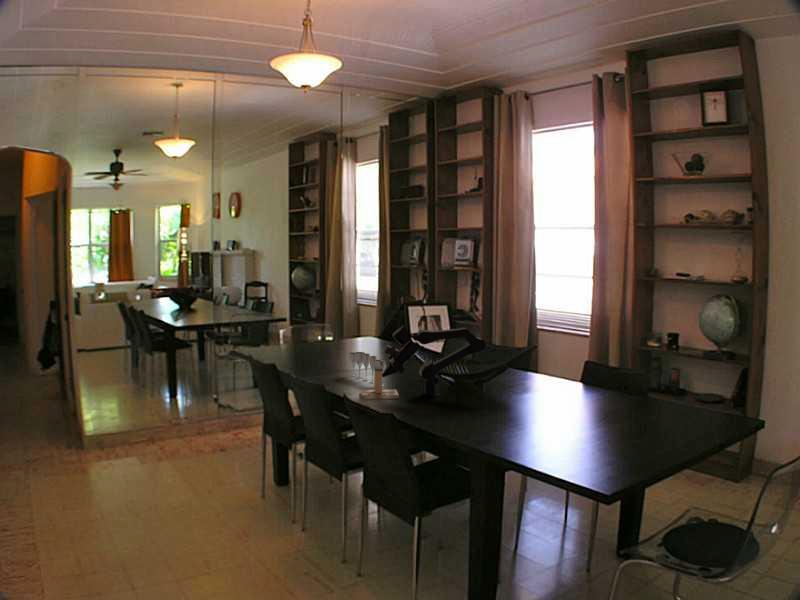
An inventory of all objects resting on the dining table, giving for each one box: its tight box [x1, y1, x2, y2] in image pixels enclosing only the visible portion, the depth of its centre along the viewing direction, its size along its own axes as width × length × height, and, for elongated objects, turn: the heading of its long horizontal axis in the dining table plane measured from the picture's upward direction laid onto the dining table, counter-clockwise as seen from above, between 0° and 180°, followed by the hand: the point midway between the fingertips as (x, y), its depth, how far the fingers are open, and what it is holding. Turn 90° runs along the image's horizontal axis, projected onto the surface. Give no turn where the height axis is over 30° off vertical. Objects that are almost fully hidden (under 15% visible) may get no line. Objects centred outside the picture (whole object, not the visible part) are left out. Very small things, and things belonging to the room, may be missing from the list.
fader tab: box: [373, 366, 384, 393], centre depth 269 cm, size 4×6×11 cm, turn 7°
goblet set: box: [348, 351, 387, 387], centre depth 298 cm, size 28×6×13 cm, turn 38°
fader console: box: [360, 389, 400, 400], centre depth 270 cm, size 16×10×2 cm, turn 97°
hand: (382, 376), depth 269 cm, fingers closed, pressing on fader tab
